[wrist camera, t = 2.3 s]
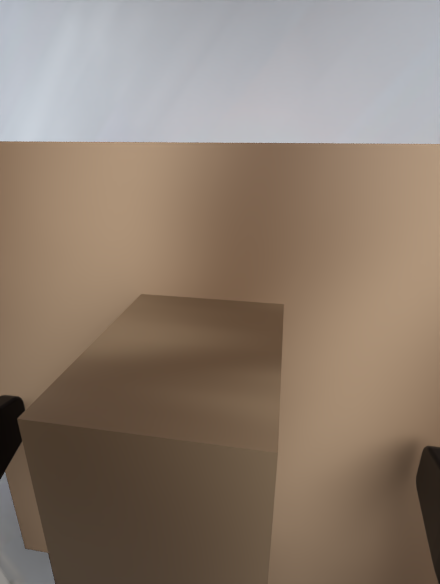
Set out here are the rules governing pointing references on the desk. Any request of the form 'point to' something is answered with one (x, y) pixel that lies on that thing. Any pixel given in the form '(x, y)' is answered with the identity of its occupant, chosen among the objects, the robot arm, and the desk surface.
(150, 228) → the cover
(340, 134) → the desk surface
